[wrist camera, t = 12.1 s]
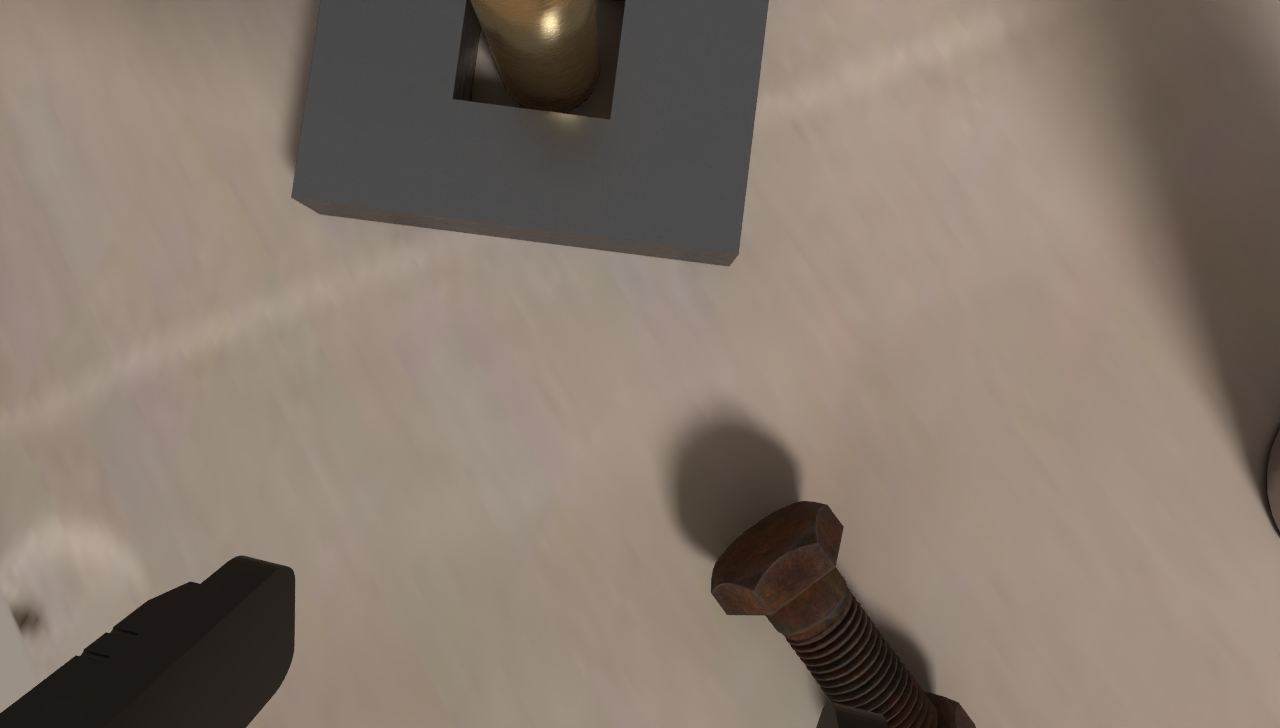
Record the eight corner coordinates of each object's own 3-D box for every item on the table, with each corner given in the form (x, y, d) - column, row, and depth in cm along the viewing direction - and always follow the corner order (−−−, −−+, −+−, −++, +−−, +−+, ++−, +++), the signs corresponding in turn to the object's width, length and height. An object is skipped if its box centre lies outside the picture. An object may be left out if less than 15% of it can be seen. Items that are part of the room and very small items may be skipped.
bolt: (925, 794, 31) (732, 529, 30) (1035, 767, 28) (826, 480, 28) (926, 924, 25) (693, 606, 25) (1061, 905, 23) (804, 554, 23)
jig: (771, -85, 30) (783, -128, 28) (729, 266, 30) (738, 254, 27) (372, -138, 30) (348, -186, 27) (320, 214, 29) (291, 197, 27)
